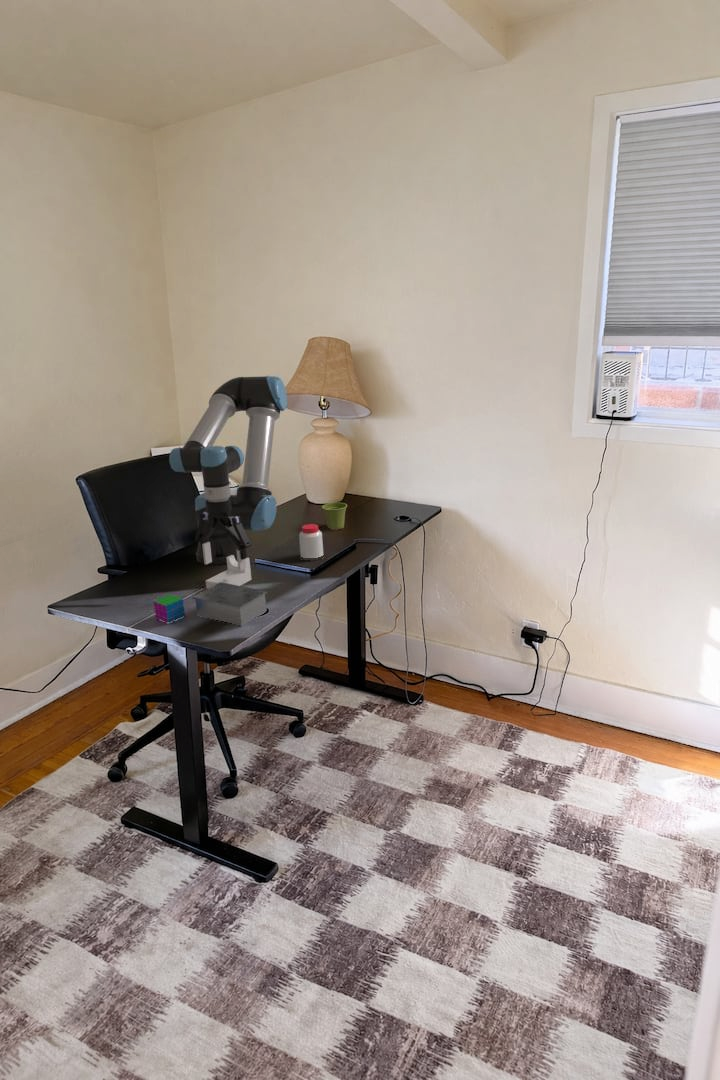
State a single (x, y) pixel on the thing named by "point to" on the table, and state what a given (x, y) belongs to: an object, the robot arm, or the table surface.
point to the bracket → (231, 574)
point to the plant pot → (335, 515)
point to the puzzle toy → (169, 608)
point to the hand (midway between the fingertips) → (225, 566)
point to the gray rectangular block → (230, 603)
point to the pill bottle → (311, 541)
